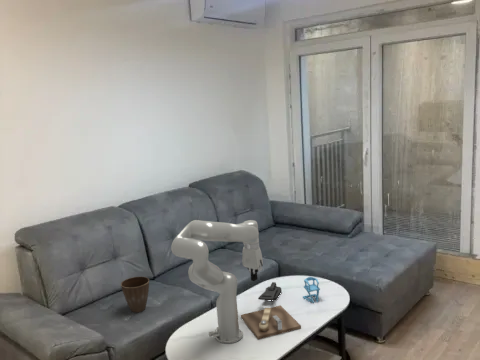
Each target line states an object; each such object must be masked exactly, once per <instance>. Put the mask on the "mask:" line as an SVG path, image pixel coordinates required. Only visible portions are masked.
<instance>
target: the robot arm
mask: <svg viewBox="0 0 480 360" xmlns="http://www.w3.org/2000/svg"><path fill="white" fill-rule="evenodd" d="M259 235H260V233H259V224H258V222H257V220H254V219H249V220H244V221H243V222H241V223H236V224H235V223H231V222H223V221H210V220H209V221H208V220H198V219H194V220H192V221H189V222H188V224H186V225H185V226H184V227H183V228H182V230H181V231H180V232H179V233H178V234H177V235H176V236H175V237H174V239H173V241H172V243H171V247H170V249H171V252H172V255H174V256H175V257H177V258H178V257H179V258H182V259H188V260H192V264H190V265H189V266H188V267H189V268H188V272H187V273H188V274H187V275H188V279H189V281H191V283H193V284H195V285H197V286H199V287H200V288H201V289H205V290H206V291H212V292H215V293H218V294H219V295H218V297H217V298H216V302H215V304H216V305H215V306H216V315H217V325H218V327H216V329H215V330H214V331H209V332H208V336H209V337H213V339H214V338H215V339H216V341H218V342H219V343H220V344H234V343H236V342H239V341H241V339H242V338H243V336H244V333H243V331H242V330H241V329H240V326H239V325H240V323H239V315H238V311H239V310H238V301H237V298H238V297H237V290H238V279H237V276H236V275H234V273H231V272H228V271H227V272H226V271H223V270H222V269H221V268H219V266H218V265H216V264H214V263H212V262H211V261H209V247H208V245H207V243H206V242H226V243H237V242H239V243H242V244H243V248H242V254H241V257H242V258H241V259H242V261H241V263H242V266H243V267H245V268H246V269H247V270H248V272H249V274H250V281H251V282H256V281H257V280H258V273H259V272H262V271H263V266H264V261H263V254H262V250H261V247H260V239H259ZM204 241H205V242H204Z"/></svg>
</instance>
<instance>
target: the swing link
mask: <svg viewBox="0 0 480 360" xmlns="http://www.w3.org/2000/svg"><path fill="white" fill-rule="evenodd" d="M271 308H272V307H265V308H264V309H265V310H264V313H263V317H262V320H261V321H263V320H265V321H266V324H261V322H260V323H259V329H260V330H261V331H267V330H268V329H269V325H268V324H269V320H270V316H271Z"/></svg>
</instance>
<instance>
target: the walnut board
mask: <svg viewBox="0 0 480 360" xmlns="http://www.w3.org/2000/svg"><path fill="white" fill-rule="evenodd" d="M270 308H271V316H270V320H269V324H268V325H269V329H268V330H267V331H261V330H260V329H259V323H260V322H261V320H262V317H263V313H264V310H265V308H263V309H260V310H256V311H250V312H247V313H241V314H240V318H241V320H242V319H243V320H242V321H243V322H244V324H245V325H246V326H247V328H248V329H249V330H250V331H251V332H252V334H253V335H254V337H255V338H256V339H257V340H262V339H266V338H270V337H274V336H277V335H281V334H282V335H283V334H285V333H290V332H293V331H296V330H301V329H302V325H301V324H300V323H299V322H298V321H297V320H296V319H295V318H294V316H292V314H290V313H289V312H288V311H287V310H286V309H285V307H283V306H282V305H281V304H280V305H277V306H272V307H270ZM275 315H277V316H278V318H279V319H280V320H281V321H282V330H279V331H278V330H277V324H276V321H275V320H274V319H273V317H272V316H275Z"/></svg>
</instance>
